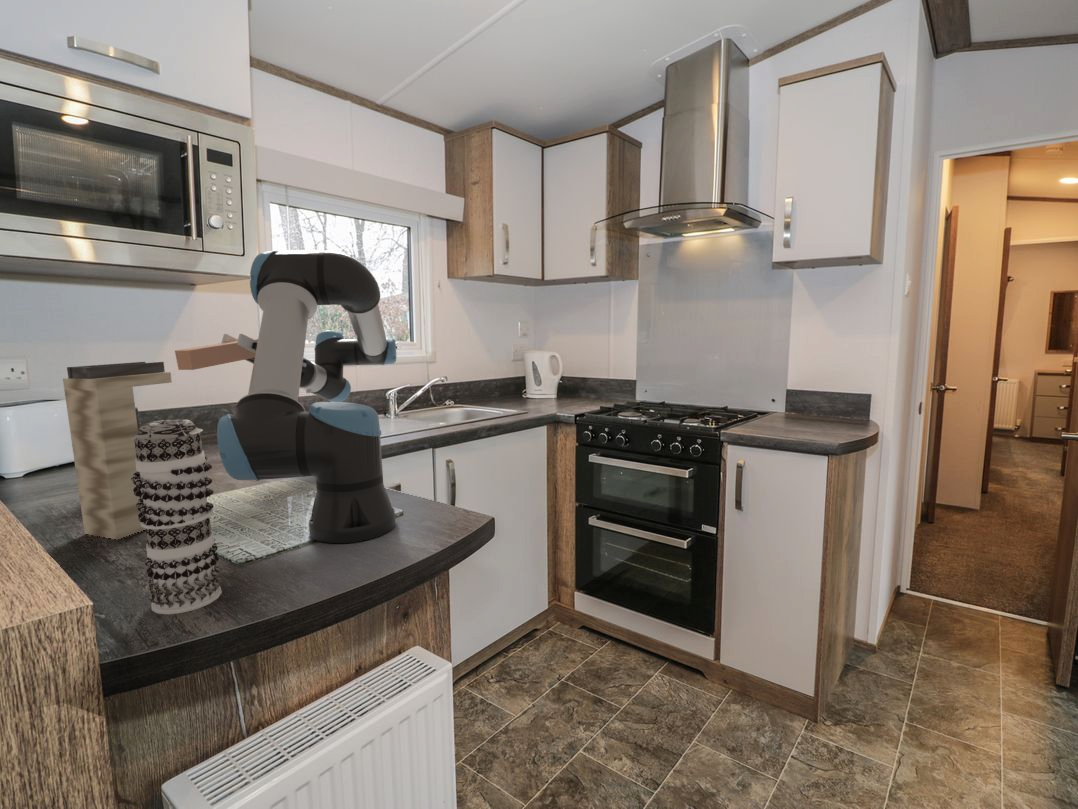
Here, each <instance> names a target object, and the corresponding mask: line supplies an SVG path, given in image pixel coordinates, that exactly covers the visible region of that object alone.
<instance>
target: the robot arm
mask: <svg viewBox="0 0 1078 809" xmlns="http://www.w3.org/2000/svg"><path fill="white" fill-rule="evenodd" d="M249 276H250V279H249V285H250V286H249V288H250V294H251V296H252V299H253V300H254V302H255V303H256V304H257V305H258V306H259V309H260V310H261V311H262V316H261V322H260V326H259V332H258V341H256V340H254V339H252V338H253V337H250V336H248V335H246V334H243V333H239V335H238V338H236V337H234V336H231V335H229V334H227V333H224V334H223V336H222V340H221V342H220V343H226V342H232V341H237V346H240V347H242V348H244V349H246V350H248V351H250V352H252V353H254V354H255V358H250V359H245V360H244V361H247V362H249V363H251V364H253V366H252V370H251V371H252V372H251V375H250V382H249V387H248V392H247V394H246V395H244V396H242V397H241V398H240V399H239V400H238V401H237V403H236V406H235V409H234V410H235V411H234V414H231V413H227V414H225V415H223V416H221V417H220V418H219V421H218V422H217V430H216V431H217V433H216V437H217V447H218V452H219V457H220V460H221V463H222V466H223V468H224V470H225V472H226V473H227V474H228V475H229V477H231V478H232V479H233V480H236V481H256V482H259V481H260V480H261V481H262V480H275V479H289V478H290V479H293V478H307V477H315V486H316V493H315V498H314V502H313V505H312V509H311V516H310V518H309V520H308V528H309V529H308V530H309V537H310V538H311V537H312V538H311V539H313V540H314V541H317V542H320V543H326V544H328V543H329V544H350V543H355V542H356V543H357V542H362V541H367V540H371V539H374V538H378V537H380V536H383V535H385V534H387V533H389V532H391V531H392V530H393V529H394V528H395V526H396V513H395V510H394V508H393V506H392V503H391V501H390V498H389V495H388V493H387V490H386V488H385V484H384V475H383V474H384V473H383V472H384V471H383V460H382V457H383V456H382V446H381V445H382V442H381V436H382V430H381V426H380V420H379V414H378V412H377V411H376V409H375V408H373V407H372V406H369V405H365V404H361V403H356V402H347V401H346V402H345V400H346V399H347V398H348V397H349V396H350V394H351V389H352V386H351V383H350V382H349V380H347V379H346V378H345V377H344V366H345V367H346V366H348V367H349V366H377V365H378V366H379V365H381V366H385V365H393V364H395V363H396V361H397V346H396V345H397V343H396V340H395V338H392V337H387V335H386V331H385V327H384V323H383V319H382V315H381V310H380V306H379V303H380V300H381V292H380V287H379V284H378V282H377V280H376V278H375V276H374V275H373V274H372V273H371V271H370V270H369V269H368V268H367V267H366V266H365V265H364V264H363V263H361V262H360V261H358V260H357V259H356V258H354V257H353V256H350V255H348V254H345V253H343V252H341V251H340V252H339V251H334V250H283V249H282V250H280V249H276V250H271V251H269V250H268V251H262V252H260V253H258V254H257V255H256V256H255V257H254V259H253V261H252V264H251V266H250V272H249ZM332 305H337V306H341V307H342V308H343V310H345V311H346V312H347V314H348V317H349V320H350V323H351V325H352V329H353V333H354V335H355V337H356V338H345V337H344V335H343V334H342V333H341V332H339V331H333V330H329V329H328V330H323V331H320V332H319V333H317V335H316V337H315V346H314V361H311V360H310V359H307V358H306V357H305V356H304V355H305V349H306V348H305V346H306V338H307V331H308V322H309V321H308V320H310V319H312V318H313V317H314V316H315V314H316V313H317V309H318V306H332ZM300 389H301V390H304V391H305V393H306V394H310V393H311V394H312V395H315V396H317V397H319V398H321V399H323V400H324V401H318V402H314V403H312V404H310V405H309V408H308V411H306V409H305V407H304V405H303V404H302V403H301V402H300V401H299V396H300Z"/></svg>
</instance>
